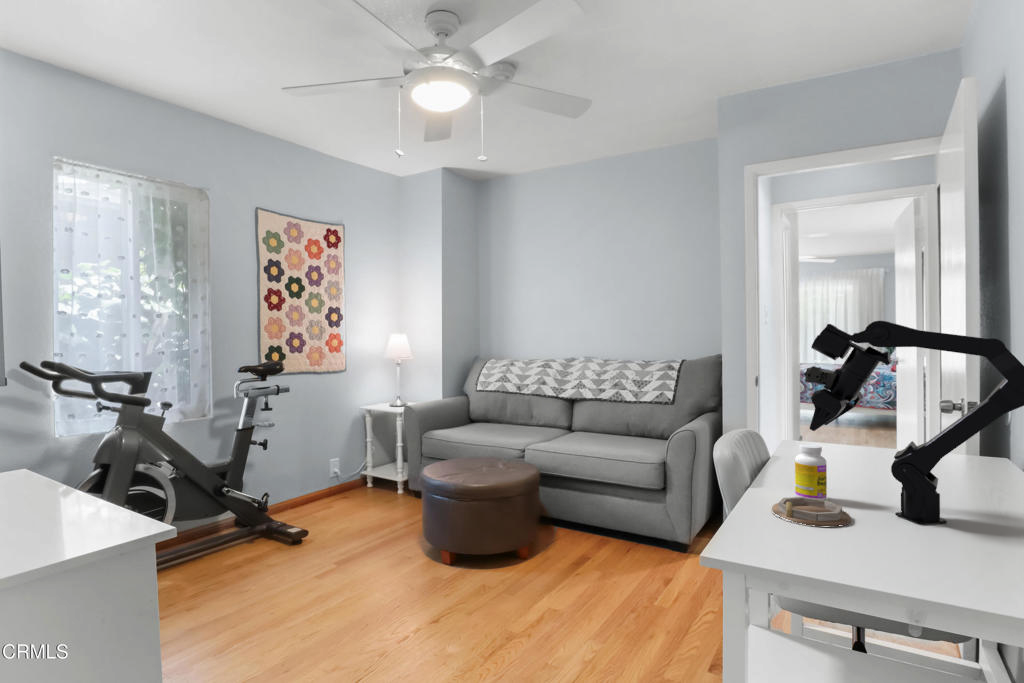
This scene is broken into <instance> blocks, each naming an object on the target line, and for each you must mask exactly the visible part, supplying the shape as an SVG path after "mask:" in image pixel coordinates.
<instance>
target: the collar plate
mask: <svg viewBox="0 0 1024 683" xmlns="http://www.w3.org/2000/svg"><path fill="white" fill-rule="evenodd" d="M772 511H773V512H774V513H775V514H777V515H779V516H780V517H783V518H785V519H788V520H791V521H793V522H797V523H802V524H806V525H815V526H839V525H845V524H847V523H849V522H851V516H850V514H849V513H848V512H847V511H844V510H843V507H842V506H840V505H838V504H837V503H834V502H831V501H829V500H827V499H826V500H820V499H814V498H807V497H796V496H795V497H793V496H792V497H790V496H789V497H783V498H781V500H780V501H779V502H777V503H774V504H773V505H772V506H771V512H772ZM849 524H850V523H849ZM806 525H805V526H806ZM847 525H848V524H847ZM845 526H846V525H845Z"/></svg>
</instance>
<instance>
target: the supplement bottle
mask: <svg viewBox="0 0 1024 683" xmlns="http://www.w3.org/2000/svg"><path fill="white" fill-rule="evenodd" d="M822 449H823V448H822V446H821V445H819V444H814V443H812V444H811V443H801V444H799V452H800V454H797V455H796V457H795V458H794V475H795V476H794V478H795V479H794V483H795V484H794V494H795V497H807V498H814V499H820V500H826V501H827V498H828V497H827V495H828V493H827V492H828V491H827V489H828V488H827V487H828V486H827V483H828V482H827V460H826V458H825V457H823V456H822V452H823V450H822Z"/></svg>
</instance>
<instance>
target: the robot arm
mask: <svg viewBox="0 0 1024 683" xmlns="http://www.w3.org/2000/svg"><path fill="white" fill-rule="evenodd" d="M859 344H869V345H871V346H868V347H866V348H865V347H863V346H860V345H859ZM872 346H873V347H872ZM874 347H876V348H921V349H929V350H936V351H942V352H950V353H957V354H963V355H964V354H965V355H970V356H977V357H978V356H980V357H984V358H986V359H987V360H988V361H989V363H990V364H992V366H994V368H995V369H996V370H997V371H998V372H999V373H1000V374H1001V375H1002V376H1003V377H1004V378H1003V379H1002V380H1001V382H999V383H998V384H997V385H996V387H995V388H994V389H993V390H992V391H991V393H990V394H989V395H988V396H987V397H986V399H984V400H982V401H981V402H980V403H979V404H977V405H976V406H974V407H973V408H972V409H971V410H969V411H967V413H965V414H964V415H962V416H961V417H960V418H958V419H957V420H955V421H953V423H952V424H950V425H949V426H947V427H945V428H944V429H943V430H942V431H940V432H939V433H938V434H936V435H935V436H934V437H933V438H931V439H929V440H928V441H926V442H923V443H922V444H919V445H917V444H916V443H915V442H914V441H910V443H908V445H907V446H906V447H905V448H904V449H902V450H898V451H896V452H895V454H894V456H893V459H894V460H893V462H892V464H891V466H890V472H891V475H892V476H893V477H894V478H895V480H896V481H898V482H899V483H901V485H902V486H901V492H900V511H898V512H895V513H894V514H895V516H898V517H900V518H902V519H905V520H908V521H910V522H912V523H915V524H917V525H934V524H935V525H936V524H947V523H948V521H947V519H944V518H941V496H940V495H941V494H940V493H939V492H938V491H937V488H938V484H939V478H938V477H937V476H936V475H935V474H933V473H932V472H931V471H933V469H934V468H935V467H936V465H937V464H939V462H940V460H942V458H944V457H945V456H947V455H948V454H949V453H951V452H953V450H956V449H957V448H958V447H960V446H961V445H962V444H964V443H965V442H967V441H968V440H969V439H971V438H972V437H974V436H975V435H977V433H979V432H981V431H982V430H983V429H985V428H986V427H988V426H989V425H991V424H992V423H993V422H994V421H996V420H997V419H999V418H1001V417H1002V416H1004V415H1005V414H1007V413H1011V412H1012V411H1015V410H1017V409H1019V408H1022V407H1024V364H1023V363H1022V362H1021V361H1020V360H1019V359H1018V358H1017V357H1016V356H1015V355H1014V354H1013V353H1012V352H1011V351H1010V350H1009V349H1008V348H1007V347H1006V344H1005V343H1004V342H1003V341H1002V340H1001V339H998V338H994V337H987V338H985V337H977V336H970V335H969V336H967V335H961V334H960V335H959V334H954V333H945V332H935V331H929V330H928V331H927V330H919V329H916V328H914V327H913V328H912V327H909V326H905V325H902V324H898V323H894V322H890V321H888V320H875V321H872V322H871V323H869V324H868V325H867V326H866V328H865V329H864V330H862V331H859V332H854V333H853V334H850V333H848V332H847V331H844V330H842V329H839V328H838V327H837V326H835V325H834V324H832V323H828V324H826V326H825V328H823V329H822V331H821V332H820V333H819V334H817V335H816V337H815V339H814V341H813V343H812V344H811V349H813V350H814V351H816V352H818V353H820V354H822V355H824V356H825V357H828V358H829V359H832V360H833V361H837V360H838V358H840V359H841V360H843V359H845V357H846V356H847V354H848V353H849V352H850V353H849V355H848V356H847V358H846V359H845V361H844V362H843V364H842V365H841V367H840V368H837V369H835V370H832V369H831V370H830V369H826V368H822V367H821V366H819V367H818V366H815V365H812V366H811V367H807V368H806V371H805V372H804V373H803V375H804V382H806V383H815V384H819V385H823V388H822V389H818V390H814V391H813V393H812V395H811V396H810V399H811V400H810V401H811V403H812V404H813V407H814V411H813V415H812V419H811V422H810V425H809V430H810V431H813V432H815V431H816V430H818V429H820V428H821V427H822V426H824V425H825V426H828V425H829V424H830V423H832V422H833V421H835V420H836V419H838V418H840V417H842V416H844V414H847V413H848V412H850V411H851V410H853V409H854V408H856V407H857V406H858V405H859V404H860V403H861V402H862V400H863V399H864V396H863V394H862V392H861V390H862V388H863V387H864V386H866V385H867V384H868V383H869V378H870V377H871V376H872V374H873V372H874V371H875V370H876V368H877V367H878V366H879V364H880V363H883V364H885V365H890V364H892V363H893V361H892V359H891V357H890V351H883V352H881V351H880V350H878V349H876V348H874ZM851 348H853V349H852V350H851ZM852 402H853V403H852Z"/></svg>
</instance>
